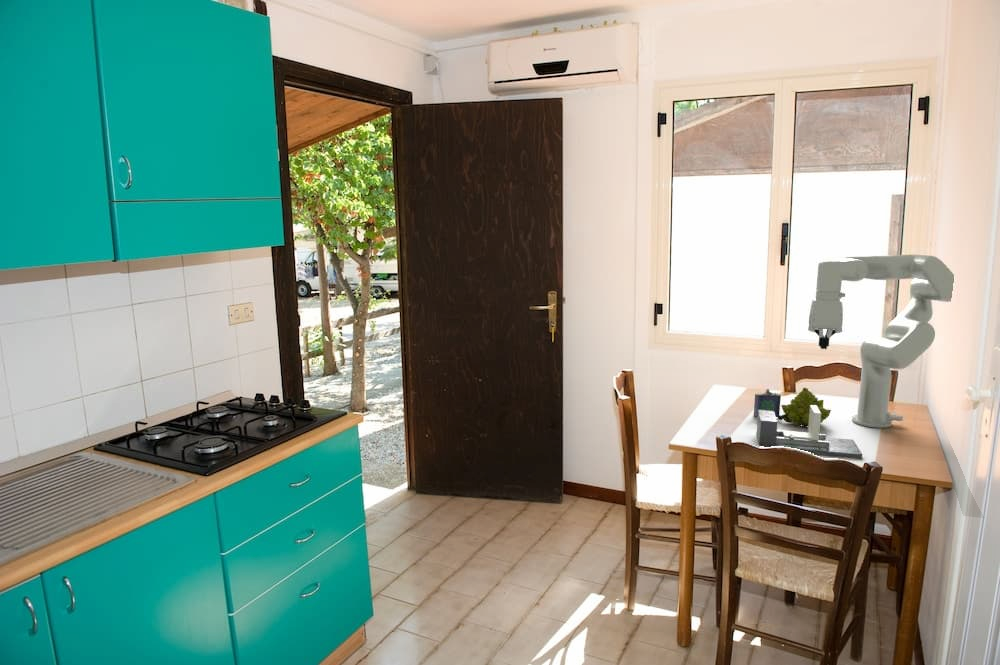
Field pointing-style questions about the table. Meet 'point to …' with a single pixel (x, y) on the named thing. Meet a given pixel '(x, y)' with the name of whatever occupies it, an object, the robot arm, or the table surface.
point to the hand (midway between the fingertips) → (823, 348)
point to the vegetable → (802, 409)
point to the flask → (767, 402)
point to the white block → (812, 426)
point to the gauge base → (823, 446)
